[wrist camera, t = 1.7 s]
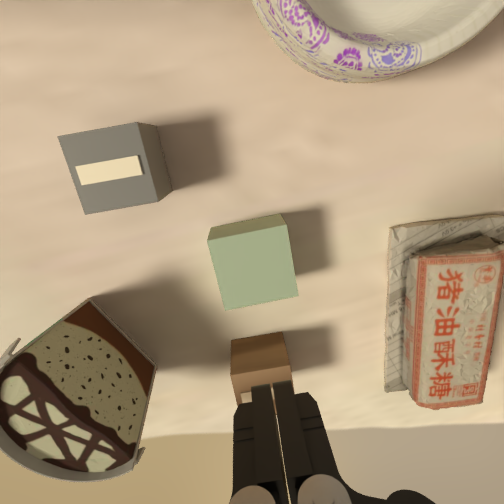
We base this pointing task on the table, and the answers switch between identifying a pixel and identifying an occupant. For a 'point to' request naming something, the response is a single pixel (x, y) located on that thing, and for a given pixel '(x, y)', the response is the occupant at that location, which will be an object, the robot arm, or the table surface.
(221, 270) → the plain sage block
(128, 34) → the table surface
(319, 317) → the table surface
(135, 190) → the charcoal striped block
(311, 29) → the paper bowls
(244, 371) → the walnut striped block
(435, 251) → the packaged product
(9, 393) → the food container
